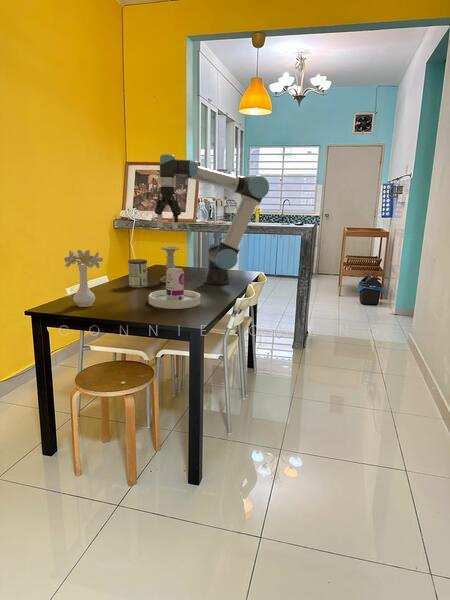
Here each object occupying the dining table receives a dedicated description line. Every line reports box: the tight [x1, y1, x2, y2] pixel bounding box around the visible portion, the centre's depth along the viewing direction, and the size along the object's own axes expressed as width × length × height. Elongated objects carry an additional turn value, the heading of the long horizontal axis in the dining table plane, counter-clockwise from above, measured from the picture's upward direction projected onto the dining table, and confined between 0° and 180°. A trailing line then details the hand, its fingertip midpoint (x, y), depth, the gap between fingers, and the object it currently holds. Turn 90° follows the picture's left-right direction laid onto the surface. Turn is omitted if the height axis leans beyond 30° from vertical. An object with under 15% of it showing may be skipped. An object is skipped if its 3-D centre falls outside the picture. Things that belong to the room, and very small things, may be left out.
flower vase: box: [63, 249, 104, 308], centre depth 182 cm, size 13×18×25 cm
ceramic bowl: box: [148, 289, 201, 310], centre depth 195 cm, size 24×24×4 cm
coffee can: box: [127, 258, 148, 288], centre depth 228 cm, size 10×10×14 cm
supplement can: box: [165, 267, 185, 301], centre depth 193 cm, size 8×8×15 cm
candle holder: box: [159, 246, 180, 284], centre depth 241 cm, size 12×12×20 cm
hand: (167, 228), depth 216 cm, fingers open, 13 cm apart
